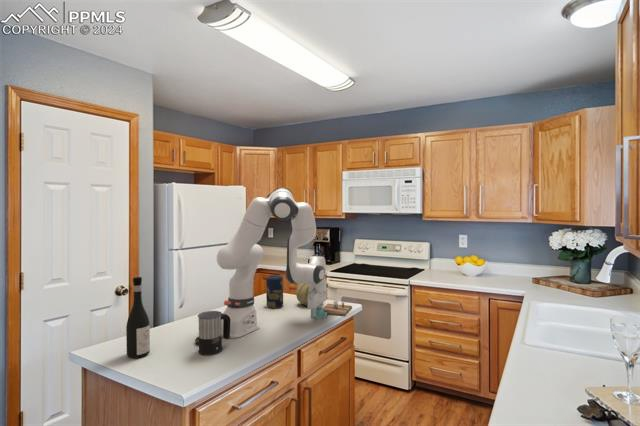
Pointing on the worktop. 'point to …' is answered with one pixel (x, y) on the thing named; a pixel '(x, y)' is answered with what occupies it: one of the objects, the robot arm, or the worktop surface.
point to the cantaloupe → (303, 293)
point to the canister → (274, 291)
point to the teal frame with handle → (319, 313)
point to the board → (337, 309)
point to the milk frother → (212, 332)
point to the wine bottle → (138, 326)
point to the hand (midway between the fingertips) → (317, 313)
